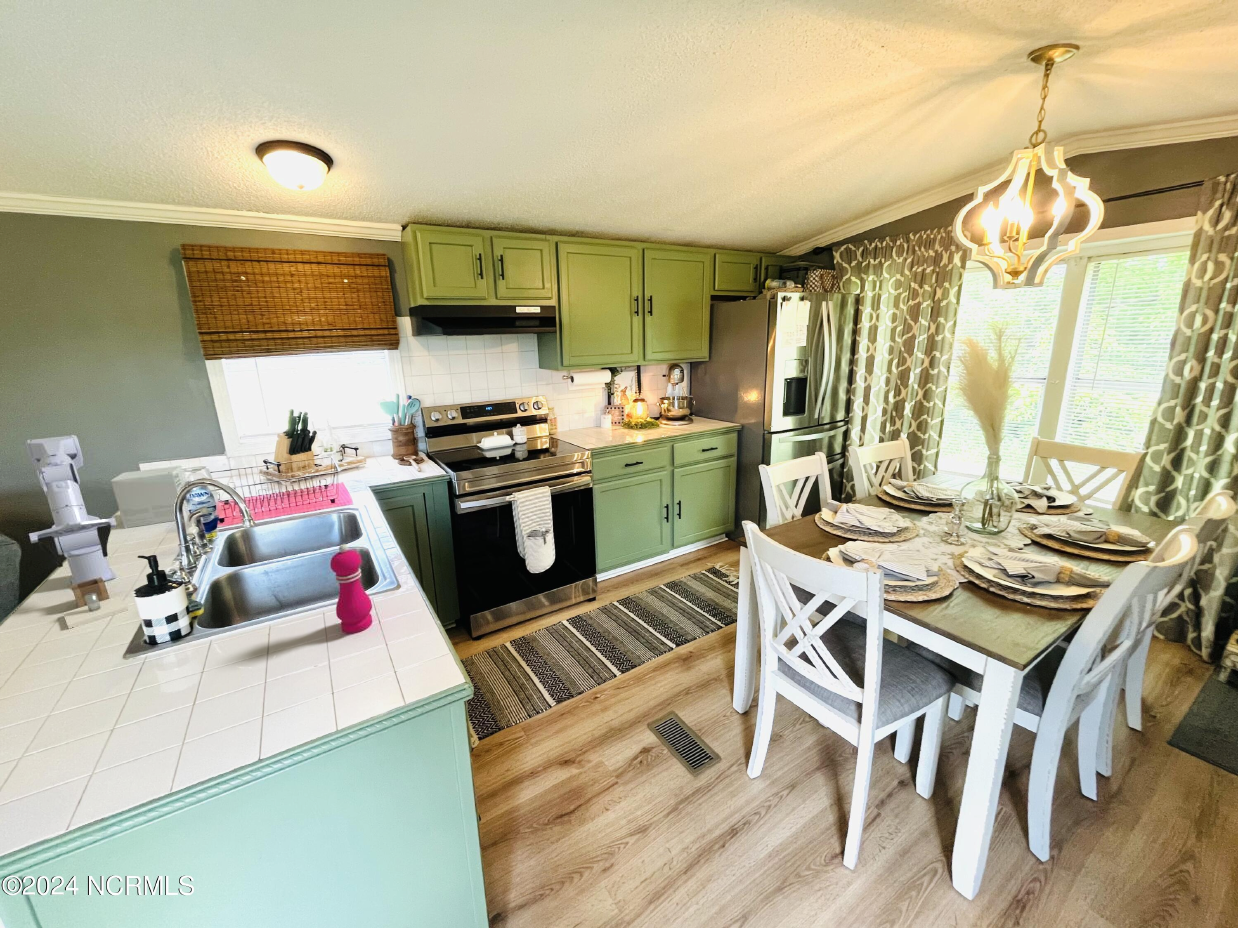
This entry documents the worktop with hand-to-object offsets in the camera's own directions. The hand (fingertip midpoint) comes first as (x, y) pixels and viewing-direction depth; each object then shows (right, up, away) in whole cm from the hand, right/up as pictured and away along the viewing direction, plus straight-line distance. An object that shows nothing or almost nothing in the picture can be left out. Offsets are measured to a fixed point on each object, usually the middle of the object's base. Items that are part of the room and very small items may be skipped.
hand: (83, 560), depth 122 cm
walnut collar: (-2, -11, +4) cm, 12 cm away
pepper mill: (+73, -13, -9) cm, 74 cm away
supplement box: (-39, +3, +63) cm, 74 cm away
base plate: (+5, -13, -1) cm, 13 cm away
